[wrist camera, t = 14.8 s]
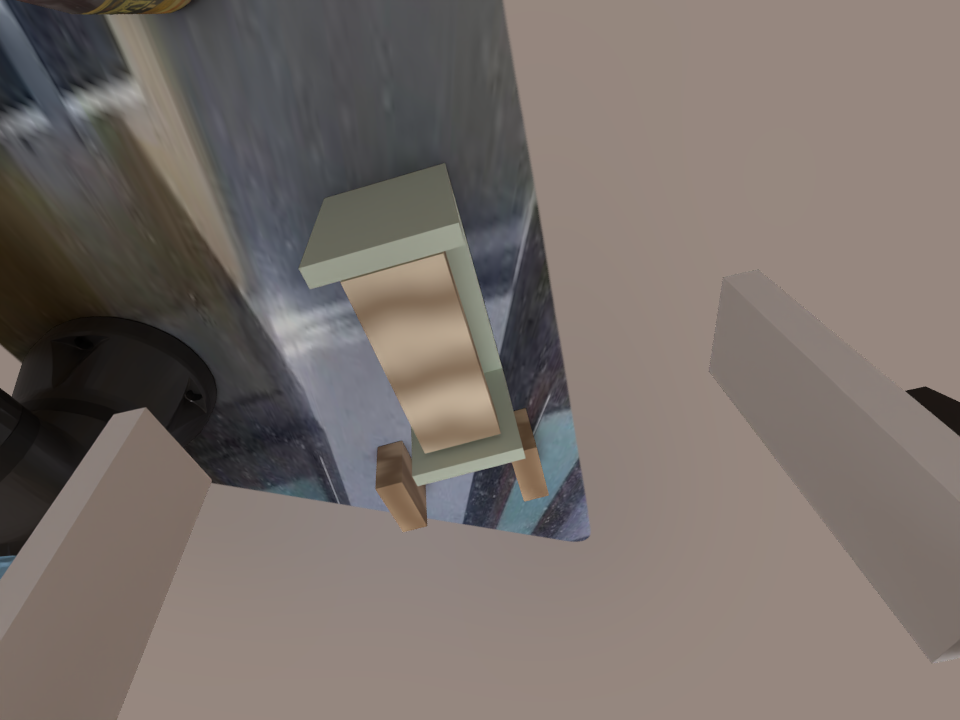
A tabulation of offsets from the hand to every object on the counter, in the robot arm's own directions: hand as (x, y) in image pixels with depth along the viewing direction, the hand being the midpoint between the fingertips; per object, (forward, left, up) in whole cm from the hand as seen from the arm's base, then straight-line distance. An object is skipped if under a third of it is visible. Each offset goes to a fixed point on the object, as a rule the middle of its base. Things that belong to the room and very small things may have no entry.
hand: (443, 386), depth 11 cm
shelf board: (-11, -11, -23) cm, 28 cm away
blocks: (-24, -29, -31) cm, 49 cm away
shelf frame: (-11, -11, -31) cm, 34 cm away
